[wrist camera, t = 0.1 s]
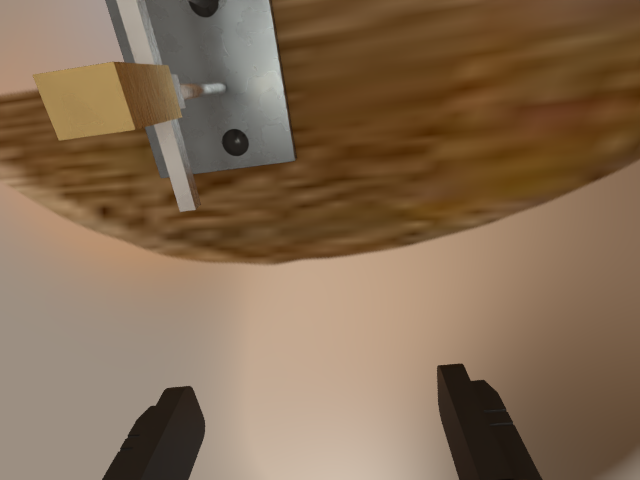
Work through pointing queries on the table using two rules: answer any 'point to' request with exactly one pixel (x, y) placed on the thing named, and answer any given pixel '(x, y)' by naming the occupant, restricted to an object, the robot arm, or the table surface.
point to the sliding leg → (115, 97)
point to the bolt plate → (206, 67)
